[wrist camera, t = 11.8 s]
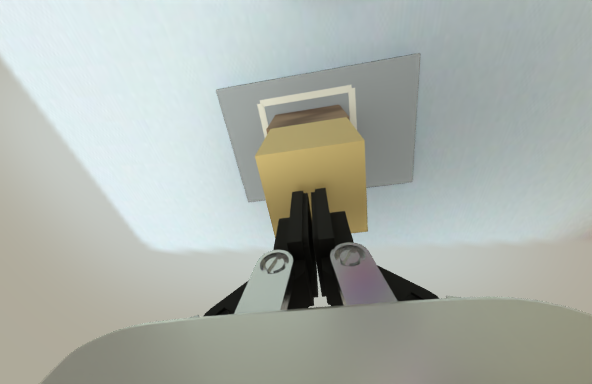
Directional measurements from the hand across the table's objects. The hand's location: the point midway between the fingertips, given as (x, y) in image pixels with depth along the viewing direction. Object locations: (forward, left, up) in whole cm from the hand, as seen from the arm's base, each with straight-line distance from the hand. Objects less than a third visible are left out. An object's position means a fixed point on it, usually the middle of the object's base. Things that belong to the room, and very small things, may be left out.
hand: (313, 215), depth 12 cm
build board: (-1, 0, -14) cm, 14 cm away
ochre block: (0, 0, -7) cm, 7 cm away
